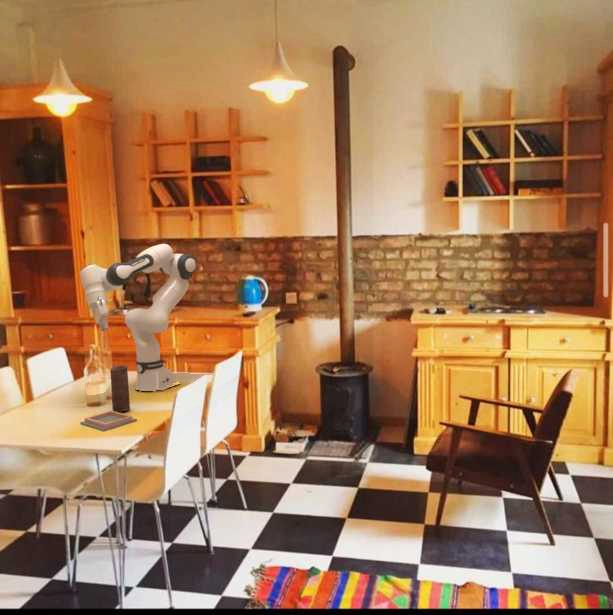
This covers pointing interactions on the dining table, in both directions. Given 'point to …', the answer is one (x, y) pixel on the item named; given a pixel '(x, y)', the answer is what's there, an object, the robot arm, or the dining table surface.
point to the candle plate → (108, 420)
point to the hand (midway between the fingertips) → (105, 329)
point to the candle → (120, 388)
